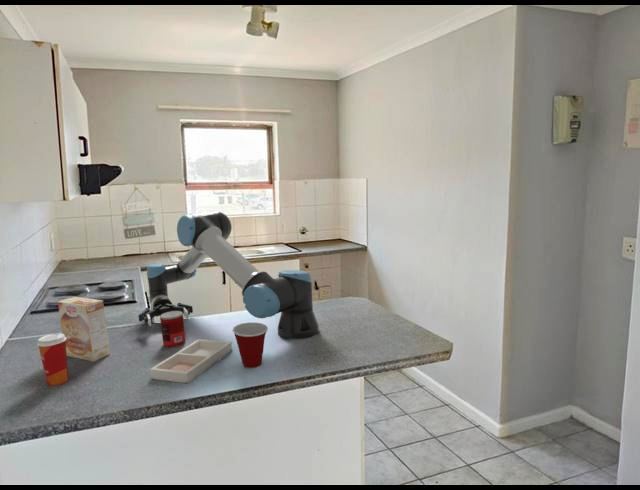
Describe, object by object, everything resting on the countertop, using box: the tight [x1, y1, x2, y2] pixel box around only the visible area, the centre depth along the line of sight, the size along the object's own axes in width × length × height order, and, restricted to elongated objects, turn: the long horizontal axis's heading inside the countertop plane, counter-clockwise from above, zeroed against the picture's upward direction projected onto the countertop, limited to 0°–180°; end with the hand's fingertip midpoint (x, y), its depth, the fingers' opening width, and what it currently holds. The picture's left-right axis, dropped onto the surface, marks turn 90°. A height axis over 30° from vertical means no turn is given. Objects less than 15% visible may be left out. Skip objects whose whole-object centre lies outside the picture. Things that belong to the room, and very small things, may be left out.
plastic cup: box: [232, 322, 269, 369], centre depth 145 cm, size 11×11×12 cm
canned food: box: [159, 311, 186, 348], centre depth 167 cm, size 8×8×11 cm
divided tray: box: [149, 338, 233, 384], centre depth 149 cm, size 25×13×3 cm, turn 160°
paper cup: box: [36, 333, 69, 387], centre depth 140 cm, size 8×8×14 cm
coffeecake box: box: [57, 296, 111, 362], centre depth 160 cm, size 15×7×20 cm, turn 62°
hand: (169, 318), depth 175 cm, fingers open, 13 cm apart
